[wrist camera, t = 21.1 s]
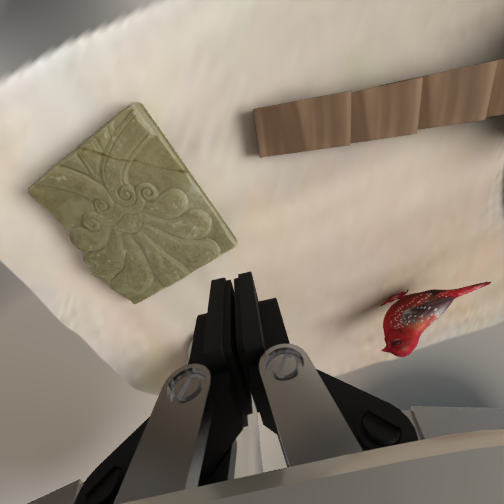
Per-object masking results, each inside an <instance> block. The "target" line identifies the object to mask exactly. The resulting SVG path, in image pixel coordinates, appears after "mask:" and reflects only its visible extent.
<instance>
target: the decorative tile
mask: <svg viewBox="0 0 504 504" xmlns="http://www.w3.org/2000/svg"><path fill="white" fill-rule="evenodd" d="M27 191H28V193H29V194H30V195H31V196H32V197H33V198H34V199H35V200H36V201H37V202H39V203H40V204H41V205H42V206H43V207H44V208H46V209H47V210H48V211H49V212H50V213H51V214H52V215H53V216H54V217H55V218H56V219H57V220H58V221H59V222H60V223H61V224H62V226H63V227H64V228H65V229H66V231H67V234H68V235H69V236H70V239H71V241H72V243H73V244H74V245H75V246H76V247H78V248H79V249H80V250H81V251H82V252H83V255H84V261H85V262H86V264H87V265H88V268H89V270H90V272H91V274H92V275H93V276H96V277H99V278H100V279H101V280H102V281H104V282H105V283H106V284H107V285H108V286H109V287H110V288H112V289H114V290H115V291H116V292H118V293H120V294H121V295H124V296H126V297H127V298H128V299H129V300H130V301H132V303H133V304H137V303H139V302H141V301H143V300H145V299H146V298H148V297H150V296H152V295H154V294H155V293H157V292H158V291H160V290H162V289H164V288H165V287H168V286H170V285H172V284H174V283H175V282H178V281H179V280H181V279H183V278H185V277H186V276H188V275H189V274H190V273H192V272H193V271H195V270H196V269H198V268H200V267H202V266H204V265H206V264H208V263H209V262H211V261H213V260H214V259H216V258H217V257H219V256H220V255H221V254H223V253H225V252H227V251H229V250H231V249H232V248H234V247H235V246H236V245H237V240H236V238H235V236H234V235H233V233H232V232H231V230H230V229H229V227H228V226H227V225H226V223H225V222H224V220H223V219H222V217H221V216H220V215H219V213H218V212H217V210H216V209H215V207H214V206H213V205H212V203H211V202H210V200H209V199H208V197H207V196H206V195H205V193H204V192H203V190H202V189H201V187H200V186H199V185H198V183H197V182H196V180H195V179H194V177H193V176H192V175H191V173H190V172H189V170H188V169H187V167H186V166H185V165H184V163H183V162H182V160H181V159H180V157H179V156H178V155H177V153H176V152H175V150H174V149H173V147H172V146H171V144H170V143H169V141H168V140H167V139H166V137H165V136H164V134H163V133H162V131H161V130H160V129H159V127H158V126H157V124H156V123H155V122H154V120H153V119H152V117H151V116H150V115H149V113H148V112H147V110H146V109H145V107H144V106H143V105H142V104H141V103H139V102H137V103H132V104H131V105H130V106H129V107H127V108H126V109H124V110H123V111H121V112H120V113H119V114H118V115H116V116H115V117H114V118H113V119H112V120H110V121H109V122H108V123H107V124H106V125H105V126H103V127H102V128H101V129H99V130H98V131H97V132H96V133H95V134H93V135H92V136H91V137H89V138H88V139H87V140H86V141H84V142H83V143H82V144H81V145H80V146H79V147H78V148H77V149H76V150H74V151H73V152H72V153H70V154H69V155H67V156H66V157H65V158H63V159H62V160H61V161H60V162H59V163H57V164H56V165H55V166H54V167H52V168H51V169H50V170H49V171H48V172H47V173H45V174H44V175H43V176H42V177H41V178H40V179H39V180H37V181H36V182H35V183H34V184H33V185H32V186H30V187H29V188H28V190H27Z"/></svg>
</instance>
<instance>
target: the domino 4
mask: <svg viewBox="0 0 504 504" xmlns="http://www.w3.org/2000/svg"><path fill="white" fill-rule="evenodd" d="M495 61H496V60H495ZM486 63H487V62H486ZM497 115H504V59H500V60H498V62H497V66H496V71H495V76H494V81H493V86H492V90H491V95H490V100H489V105H488V109H487V114H486V117H489V116H497Z"/></svg>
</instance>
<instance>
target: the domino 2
mask: <svg viewBox="0 0 504 504" xmlns="http://www.w3.org/2000/svg"><path fill="white" fill-rule="evenodd" d="M422 83H423V77H422V78H418V79H413V80H408V81H403V82H399V83H394V84H389V85H384V86H379V87H375V88H370V89H365V90H360V91H355V92H351V140H350V143H357V142H363V141H370V140H377V139H383V138H390V137H397V136H403V135H410V134H417V130H418V120H419V111H420V102H421V92H422Z"/></svg>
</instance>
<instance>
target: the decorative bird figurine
mask: <svg viewBox="0 0 504 504" xmlns="http://www.w3.org/2000/svg"><path fill="white" fill-rule="evenodd" d="M490 283H491V282H485V283H480V284H476V285H471V286H467V287H463V288H459V289H453V290H428V291H424V292H420V293H414V294H410V295H405V294H406V293H407V292H408V290H409V289H408V290H407V291H406V292H401V293H400V294H397V295H395V296H393V297H390V298H389V299H388V300H387V301H386V302H385V303H383V304H382V305H384V304H386V303H388V302H392V301H394V300H396V299H399V300H398V301H397V302H395V303H394V304H393V305H392V306H391V307H390V308H389V310H388V311H387V313H386V315H385V318H384V321H383V328H384V334H385V338H384V339H385V342H386V347H385V348H384V349H383V350H381V351H384V352H389V353H392V354H394V355H395V356H398V357H405V356H407V355H409V354H410V353H411V352H412V351H413V350H414V349H415V347H416V346H417V344H418V341H419V337H420V335H421V334H422V333H423V331H424V330H425V329H426V328H427V327H428V326H429V325H431V324H432V323H433V322H434V321H435V320H437V319H438V318H439V317H440V316H441V315H442V314H443V313H444V311H445V310H446V309H447V308H448V307H449V305H450V304H451V303H452V301H453V300H454V299H455V298H457V297H459V296H462V295H464V294H467V293H469V292H472V291H474V290H477V289H479V288H482V287H484V286H486V285H488V284H490ZM402 293H403V294H402ZM382 305H380V306H382Z"/></svg>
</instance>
